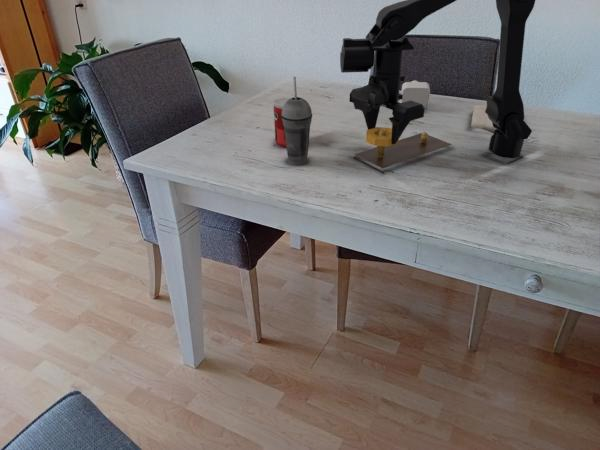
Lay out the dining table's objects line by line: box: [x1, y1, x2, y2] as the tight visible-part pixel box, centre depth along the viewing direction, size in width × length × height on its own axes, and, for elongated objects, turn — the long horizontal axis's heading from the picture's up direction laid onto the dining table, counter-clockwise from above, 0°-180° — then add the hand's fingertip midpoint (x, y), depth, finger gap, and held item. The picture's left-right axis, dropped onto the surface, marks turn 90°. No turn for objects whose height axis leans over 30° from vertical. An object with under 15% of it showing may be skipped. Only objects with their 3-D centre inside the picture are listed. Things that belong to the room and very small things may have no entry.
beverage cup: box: [281, 76, 313, 166], centre depth 105 cm, size 7×7×20 cm
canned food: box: [273, 97, 292, 149], centre depth 118 cm, size 8×8×11 cm
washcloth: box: [470, 104, 497, 133], centre depth 130 cm, size 12×18×3 cm, turn 159°
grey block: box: [399, 79, 431, 111], centre depth 141 cm, size 8×10×10 cm
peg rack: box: [353, 130, 452, 174], centre depth 111 cm, size 10×24×8 cm, turn 125°
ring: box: [365, 126, 398, 147], centre depth 106 cm, size 7×7×2 cm
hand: (382, 138), depth 107 cm, fingers closed on ring, 7 cm apart
